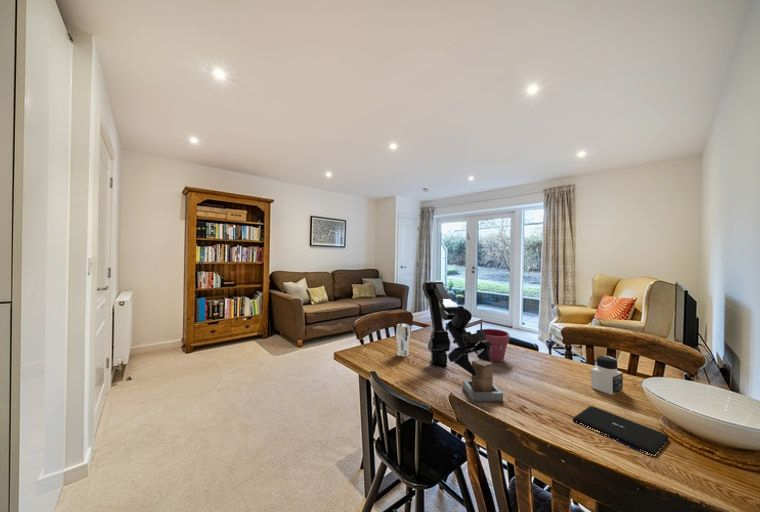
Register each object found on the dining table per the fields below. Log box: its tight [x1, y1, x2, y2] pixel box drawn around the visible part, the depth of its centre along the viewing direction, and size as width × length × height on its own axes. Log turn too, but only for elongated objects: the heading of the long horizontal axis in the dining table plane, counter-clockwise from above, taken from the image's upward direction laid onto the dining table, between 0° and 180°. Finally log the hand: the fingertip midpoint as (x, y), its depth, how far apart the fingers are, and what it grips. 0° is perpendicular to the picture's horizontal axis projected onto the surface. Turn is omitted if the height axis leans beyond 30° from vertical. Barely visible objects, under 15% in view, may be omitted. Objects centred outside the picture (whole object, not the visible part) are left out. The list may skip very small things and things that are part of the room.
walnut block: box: [471, 358, 494, 392], centre depth 101 cm, size 5×5×11 cm
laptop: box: [572, 405, 669, 455], centre depth 81 cm, size 16×20×2 cm
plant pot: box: [480, 328, 510, 363], centre depth 137 cm, size 14×14×13 cm
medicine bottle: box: [590, 355, 624, 396], centre depth 105 cm, size 7×7×12 cm
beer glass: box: [395, 323, 411, 358], centre depth 142 cm, size 7×7×15 cm
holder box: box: [462, 379, 504, 403], centre depth 101 cm, size 10×10×3 cm
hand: (483, 372), depth 101 cm, fingers open, 9 cm apart
